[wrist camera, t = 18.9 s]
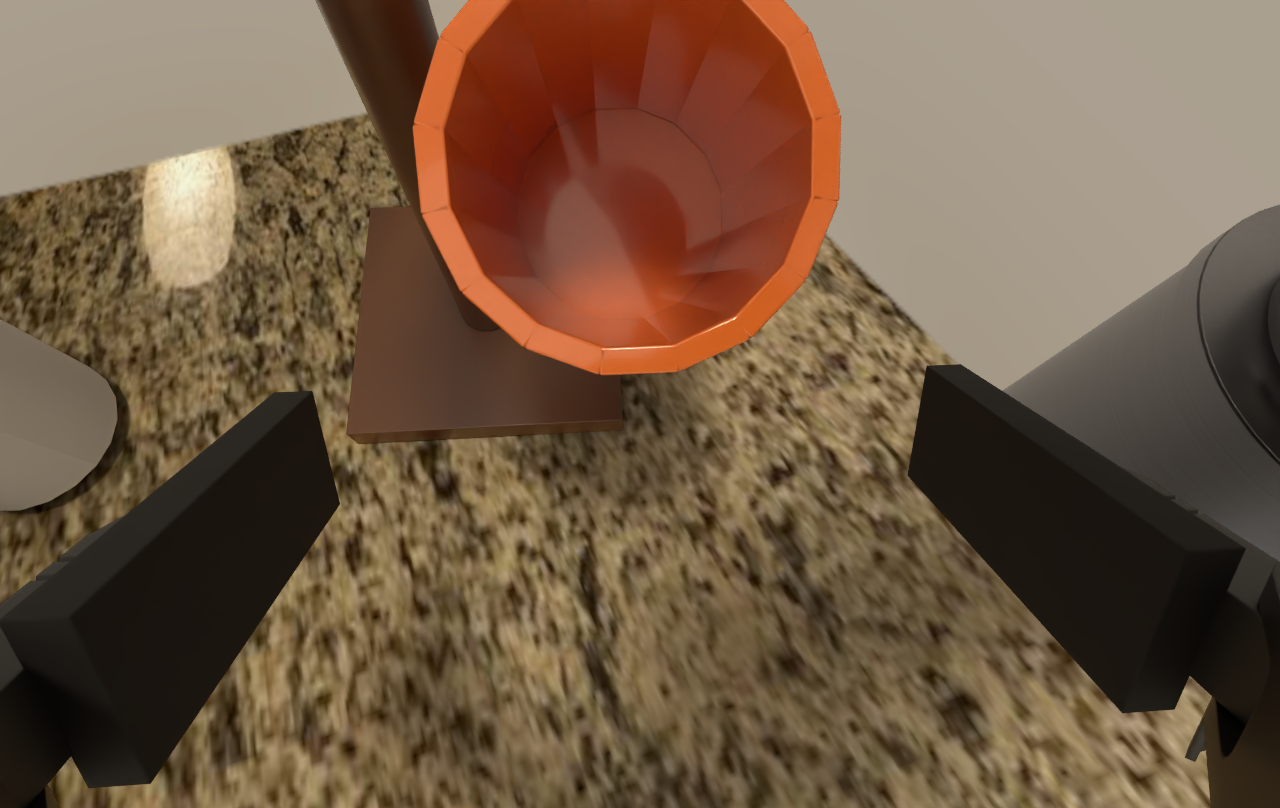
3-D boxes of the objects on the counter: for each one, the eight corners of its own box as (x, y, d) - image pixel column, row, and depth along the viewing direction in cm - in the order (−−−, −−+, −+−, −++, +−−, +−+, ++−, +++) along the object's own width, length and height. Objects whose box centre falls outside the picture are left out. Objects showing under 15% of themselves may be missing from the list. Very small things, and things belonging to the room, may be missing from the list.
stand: (714, 213, 37) (857, -431, 15) (742, 423, 32) (1012, -67, 10) (379, 224, 36) (2, -451, 14) (358, 443, 31) (-266, -54, 9)
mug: (734, 329, 24) (836, 365, 13) (513, 338, 24) (437, 382, 13) (731, -33, 22) (853, -342, 11) (486, -30, 21) (366, -346, 11)
